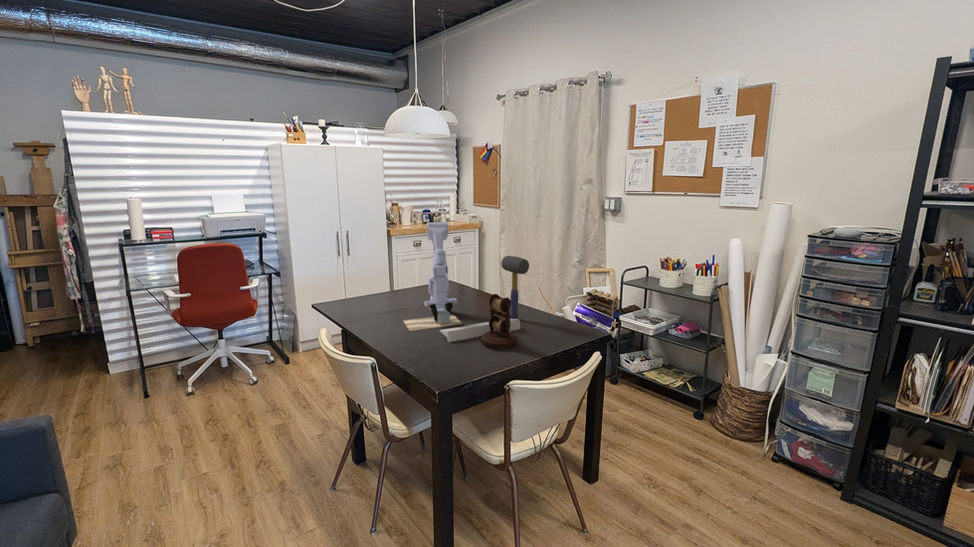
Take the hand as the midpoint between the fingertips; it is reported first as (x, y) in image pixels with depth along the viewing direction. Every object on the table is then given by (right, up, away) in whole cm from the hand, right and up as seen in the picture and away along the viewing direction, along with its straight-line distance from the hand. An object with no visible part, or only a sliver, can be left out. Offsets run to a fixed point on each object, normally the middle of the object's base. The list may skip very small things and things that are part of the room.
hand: (441, 319), depth 206 cm
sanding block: (0, -1, -1) cm, 1 cm away
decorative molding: (+18, -5, -8) cm, 20 cm away
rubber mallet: (+34, -1, +8) cm, 34 cm away
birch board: (-4, -2, -1) cm, 5 cm away
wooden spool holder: (+26, -8, -21) cm, 34 cm away
